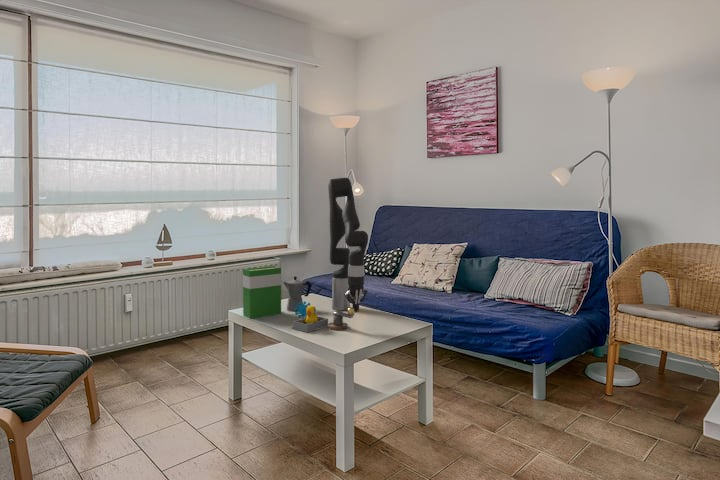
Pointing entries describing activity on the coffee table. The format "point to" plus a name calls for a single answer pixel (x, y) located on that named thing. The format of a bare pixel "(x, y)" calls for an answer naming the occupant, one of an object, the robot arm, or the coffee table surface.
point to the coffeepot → (296, 292)
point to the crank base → (337, 323)
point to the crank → (348, 315)
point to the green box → (261, 291)
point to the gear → (301, 309)
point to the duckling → (311, 314)
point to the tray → (305, 327)
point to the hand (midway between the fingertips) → (355, 311)
